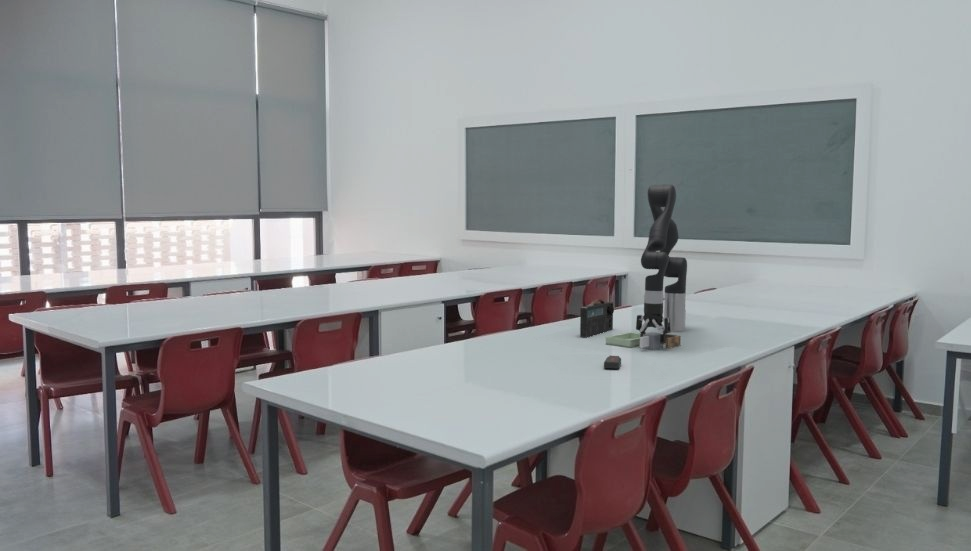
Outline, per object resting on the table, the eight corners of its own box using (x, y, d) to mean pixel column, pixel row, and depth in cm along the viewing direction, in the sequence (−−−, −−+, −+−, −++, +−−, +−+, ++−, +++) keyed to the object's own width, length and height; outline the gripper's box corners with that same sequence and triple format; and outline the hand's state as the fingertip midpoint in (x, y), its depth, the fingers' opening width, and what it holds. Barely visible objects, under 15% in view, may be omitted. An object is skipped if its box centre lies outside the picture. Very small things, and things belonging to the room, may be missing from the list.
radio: (588, 338, 340) (589, 291, 339) (580, 337, 343) (580, 291, 341) (615, 331, 361) (615, 287, 359) (606, 330, 363) (607, 286, 361)
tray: (629, 339, 337) (629, 332, 337) (653, 342, 329) (653, 335, 329) (605, 344, 324) (605, 337, 324) (630, 347, 316) (630, 340, 316)
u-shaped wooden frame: (659, 342, 328) (660, 333, 328) (680, 345, 322) (680, 335, 322) (647, 345, 321) (647, 336, 321) (667, 348, 315) (668, 338, 314)
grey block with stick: (651, 346, 319) (652, 332, 319) (662, 348, 316) (663, 333, 315) (635, 350, 310) (635, 335, 310) (646, 352, 307) (646, 336, 306)
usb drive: (603, 368, 277) (603, 360, 277) (607, 361, 289) (607, 354, 289) (618, 368, 276) (618, 361, 276) (622, 362, 288) (622, 355, 287)
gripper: (674, 302, 312) (673, 343, 313) (643, 299, 321) (642, 339, 322) (664, 304, 306) (663, 345, 307) (633, 301, 316) (632, 341, 317)
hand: (652, 342), depth 315 cm, fingers open, 8 cm apart
